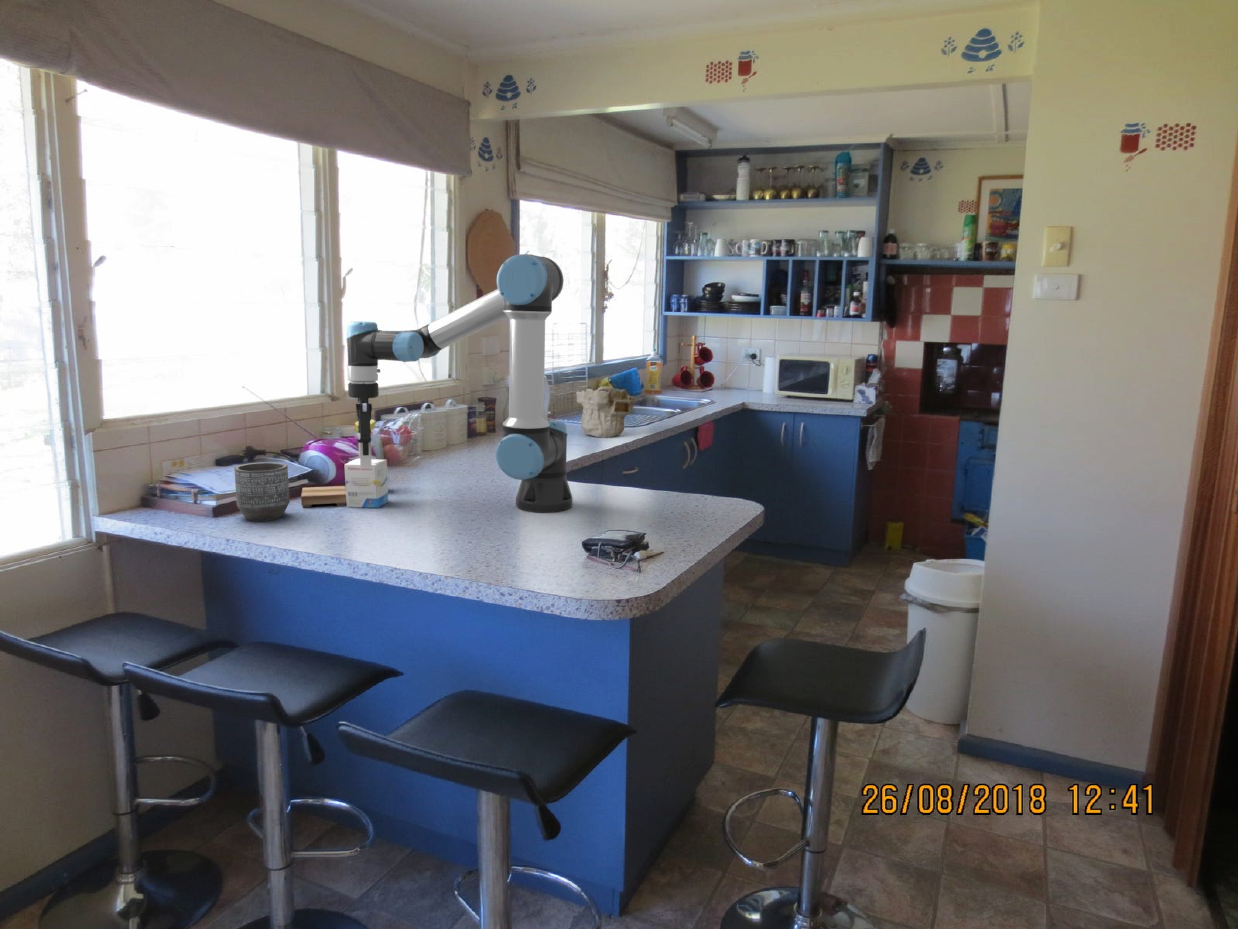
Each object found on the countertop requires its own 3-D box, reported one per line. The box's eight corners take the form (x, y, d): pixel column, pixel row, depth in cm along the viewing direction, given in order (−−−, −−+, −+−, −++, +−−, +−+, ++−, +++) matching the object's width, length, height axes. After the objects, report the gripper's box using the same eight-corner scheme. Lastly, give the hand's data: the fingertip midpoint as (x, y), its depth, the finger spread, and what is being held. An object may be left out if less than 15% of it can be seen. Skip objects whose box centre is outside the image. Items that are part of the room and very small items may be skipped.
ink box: (389, 501, 233) (387, 458, 230) (377, 508, 224) (376, 464, 222) (358, 500, 233) (356, 457, 231) (345, 507, 225) (343, 463, 223)
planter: (300, 515, 216) (298, 465, 213) (259, 525, 206) (255, 473, 203) (269, 508, 222) (266, 460, 219) (226, 518, 212) (223, 467, 209)
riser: (346, 505, 227) (345, 494, 226) (301, 507, 223) (301, 496, 223) (345, 496, 237) (345, 485, 236) (303, 498, 234) (302, 487, 233)
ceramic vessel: (601, 408, 373) (626, 365, 358) (628, 449, 362) (655, 406, 347) (559, 410, 359) (583, 366, 344) (586, 453, 347) (612, 409, 332)
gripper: (380, 387, 212) (382, 471, 216) (376, 377, 236) (377, 453, 240) (348, 387, 210) (351, 472, 214) (347, 377, 233) (349, 454, 237)
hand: (365, 462), depth 227 cm, fingers open, 13 cm apart
